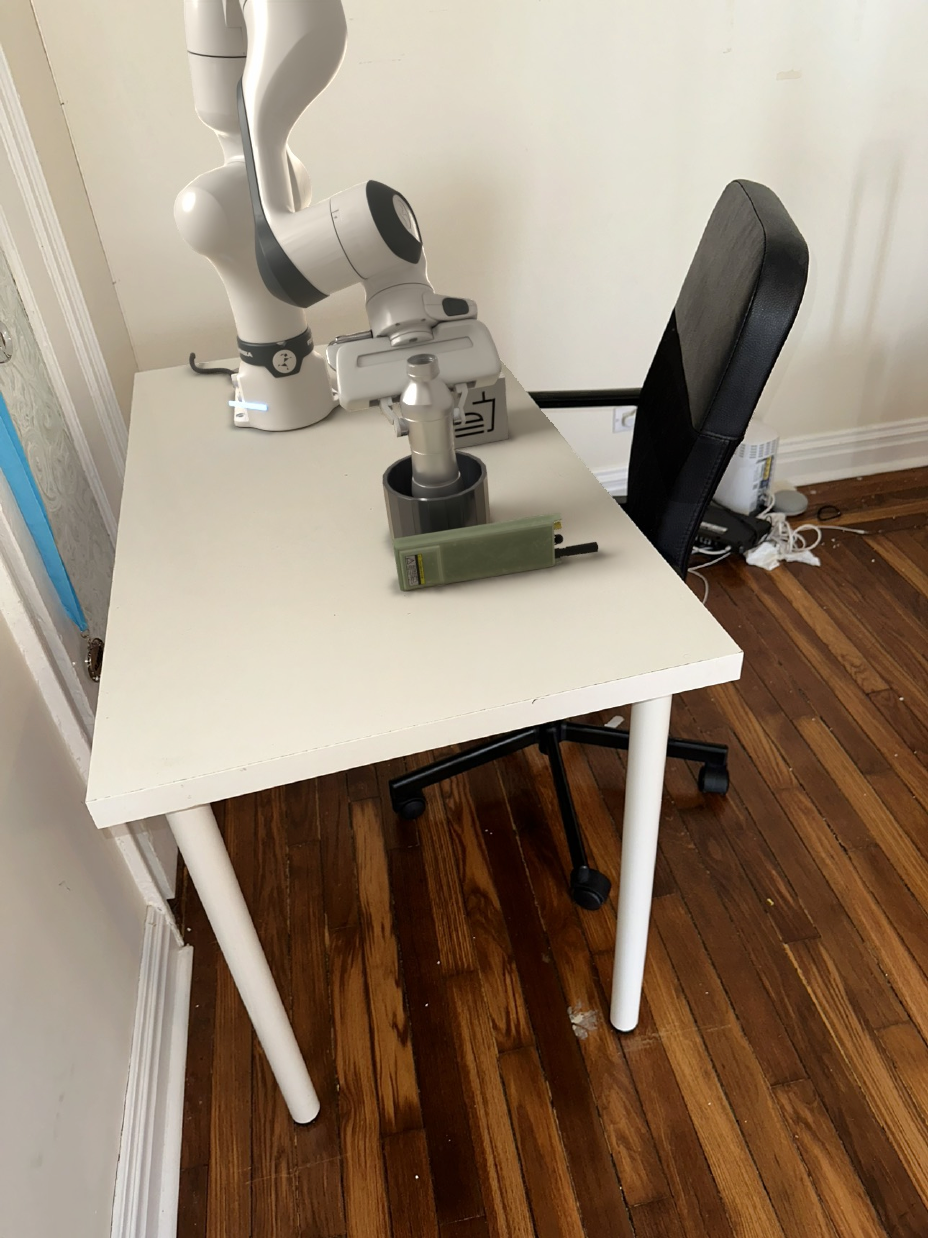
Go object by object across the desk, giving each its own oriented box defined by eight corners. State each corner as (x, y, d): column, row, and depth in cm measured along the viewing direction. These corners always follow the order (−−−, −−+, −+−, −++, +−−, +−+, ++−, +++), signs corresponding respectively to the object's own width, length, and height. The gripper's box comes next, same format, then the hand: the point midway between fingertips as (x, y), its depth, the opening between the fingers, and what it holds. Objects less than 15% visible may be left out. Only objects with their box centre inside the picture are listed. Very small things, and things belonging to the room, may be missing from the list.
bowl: (378, 523, 125) (369, 464, 119) (469, 499, 128) (464, 441, 122) (409, 572, 115) (401, 510, 109) (506, 545, 118) (503, 483, 112)
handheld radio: (398, 579, 114) (593, 547, 116) (401, 595, 111) (601, 562, 113) (391, 534, 109) (594, 502, 112) (394, 550, 107) (602, 516, 109)
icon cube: (508, 438, 142) (505, 377, 136) (445, 450, 140) (439, 388, 134) (491, 413, 149) (487, 353, 143) (431, 423, 148) (425, 364, 142)
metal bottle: (460, 521, 116) (444, 370, 103) (408, 520, 117) (386, 370, 105) (470, 495, 120) (456, 348, 108) (420, 494, 122) (401, 348, 110)
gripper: (321, 326, 108) (347, 436, 107) (487, 297, 111) (515, 404, 110) (323, 349, 115) (347, 454, 113) (481, 322, 118) (506, 423, 116)
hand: (431, 429), depth 111 cm, fingers closed on metal bottle, 6 cm apart
